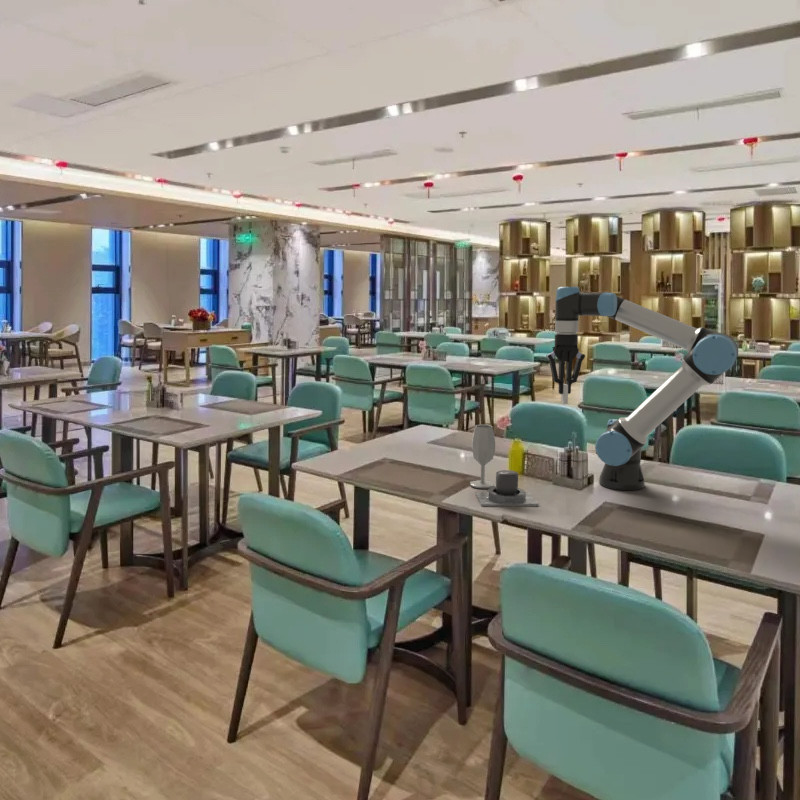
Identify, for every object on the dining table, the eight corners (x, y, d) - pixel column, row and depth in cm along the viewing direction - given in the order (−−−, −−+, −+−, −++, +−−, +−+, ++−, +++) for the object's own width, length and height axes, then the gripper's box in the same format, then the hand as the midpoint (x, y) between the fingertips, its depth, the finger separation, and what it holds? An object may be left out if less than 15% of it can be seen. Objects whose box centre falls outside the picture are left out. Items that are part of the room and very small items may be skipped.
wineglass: (475, 490, 249) (476, 428, 246) (466, 483, 257) (467, 424, 254) (499, 488, 251) (501, 427, 248) (489, 482, 259) (491, 423, 256)
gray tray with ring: (529, 494, 244) (529, 485, 243) (538, 506, 231) (538, 496, 230) (475, 494, 243) (475, 485, 242) (481, 506, 230) (481, 496, 230)
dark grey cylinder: (515, 494, 240) (516, 469, 239) (519, 500, 233) (520, 475, 232) (493, 494, 240) (494, 469, 239) (497, 500, 233) (498, 475, 232)
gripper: (581, 332, 250) (579, 401, 253) (544, 333, 249) (542, 402, 252) (589, 333, 243) (586, 404, 246) (550, 334, 242) (548, 405, 245)
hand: (564, 403), depth 249 cm, fingers closed
